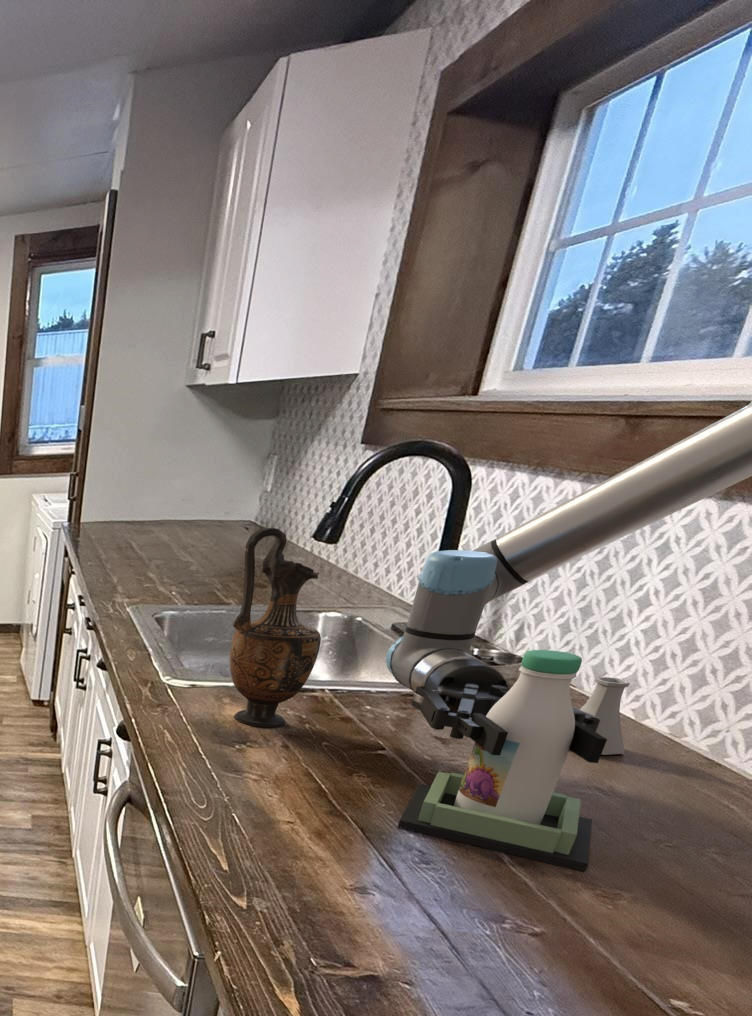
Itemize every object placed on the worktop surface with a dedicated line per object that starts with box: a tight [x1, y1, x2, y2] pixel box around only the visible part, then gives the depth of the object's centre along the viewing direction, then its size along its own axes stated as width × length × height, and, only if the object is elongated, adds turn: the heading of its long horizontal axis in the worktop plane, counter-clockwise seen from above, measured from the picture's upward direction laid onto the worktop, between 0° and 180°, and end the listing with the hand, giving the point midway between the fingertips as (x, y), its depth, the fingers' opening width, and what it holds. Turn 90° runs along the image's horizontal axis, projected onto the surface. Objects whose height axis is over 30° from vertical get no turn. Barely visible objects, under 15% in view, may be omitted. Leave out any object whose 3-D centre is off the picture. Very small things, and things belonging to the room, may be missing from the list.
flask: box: [579, 676, 631, 756], centre depth 115 cm, size 7×7×10 cm
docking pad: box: [397, 771, 593, 872], centre depth 96 cm, size 16×14×4 cm
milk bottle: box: [454, 649, 583, 825], centre depth 93 cm, size 8×8×20 cm
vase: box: [229, 527, 322, 728], centre depth 127 cm, size 12×12×30 cm
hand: (548, 747), depth 88 cm, fingers closed on milk bottle, 8 cm apart
